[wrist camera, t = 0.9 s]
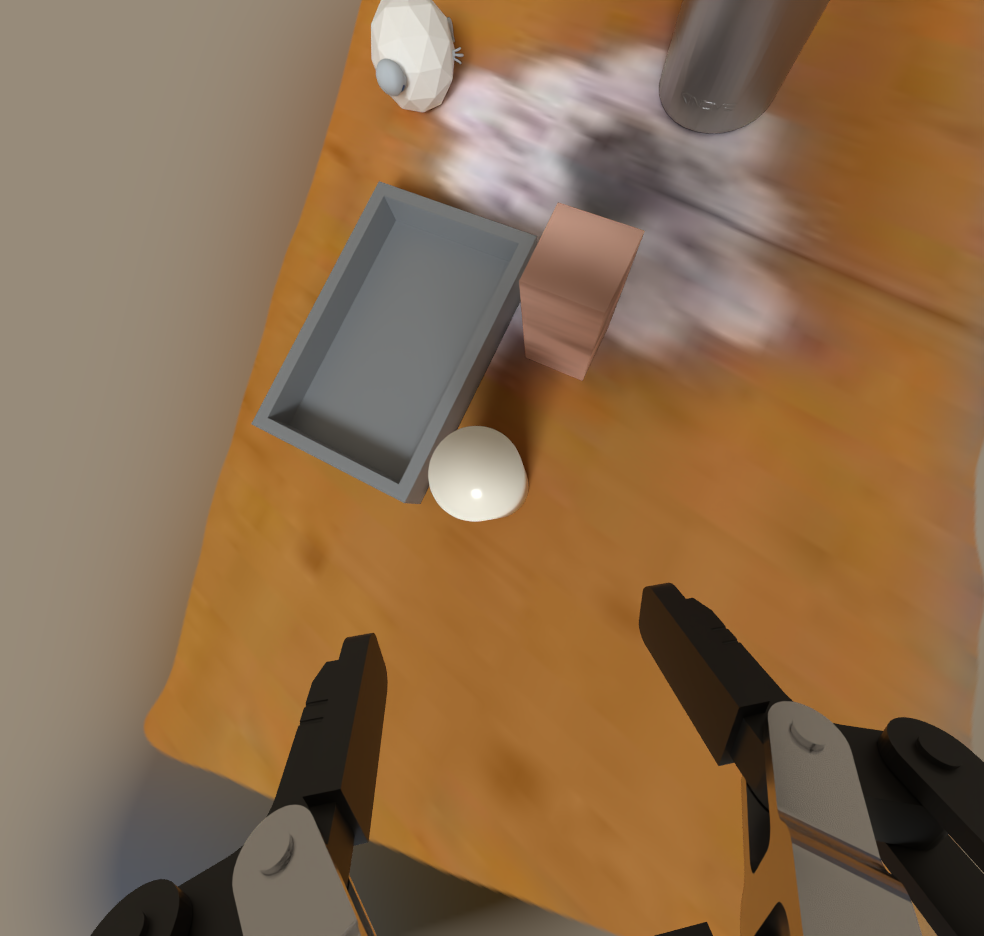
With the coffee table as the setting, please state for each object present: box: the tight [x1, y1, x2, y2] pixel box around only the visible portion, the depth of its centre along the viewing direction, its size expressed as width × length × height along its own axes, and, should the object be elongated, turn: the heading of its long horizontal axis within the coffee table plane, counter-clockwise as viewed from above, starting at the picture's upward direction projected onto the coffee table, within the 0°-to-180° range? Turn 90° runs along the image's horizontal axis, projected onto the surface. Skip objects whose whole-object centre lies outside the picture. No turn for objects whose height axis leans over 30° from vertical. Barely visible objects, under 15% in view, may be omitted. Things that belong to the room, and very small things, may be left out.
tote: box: [252, 182, 537, 504], centre depth 29 cm, size 22×14×4 cm, turn 154°
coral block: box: [519, 203, 644, 381], centre depth 24 cm, size 5×5×10 cm
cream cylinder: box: [428, 426, 529, 521], centre depth 24 cm, size 5×5×10 cm
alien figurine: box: [371, 0, 464, 112], centre depth 31 cm, size 7×7×12 cm
